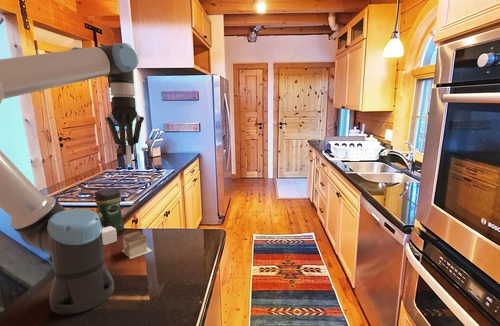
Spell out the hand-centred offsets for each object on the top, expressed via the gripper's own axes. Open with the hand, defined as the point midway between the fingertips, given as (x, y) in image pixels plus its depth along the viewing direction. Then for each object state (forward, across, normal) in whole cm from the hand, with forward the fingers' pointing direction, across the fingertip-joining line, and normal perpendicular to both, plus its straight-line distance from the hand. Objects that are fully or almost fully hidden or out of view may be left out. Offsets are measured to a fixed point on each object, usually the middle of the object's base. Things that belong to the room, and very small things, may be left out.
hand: (128, 163), depth 100 cm
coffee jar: (+32, +2, -20) cm, 38 cm away
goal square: (+32, +1, +5) cm, 32 cm away
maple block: (+26, +2, +5) cm, 26 cm away
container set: (+32, +14, -10) cm, 37 cm away
